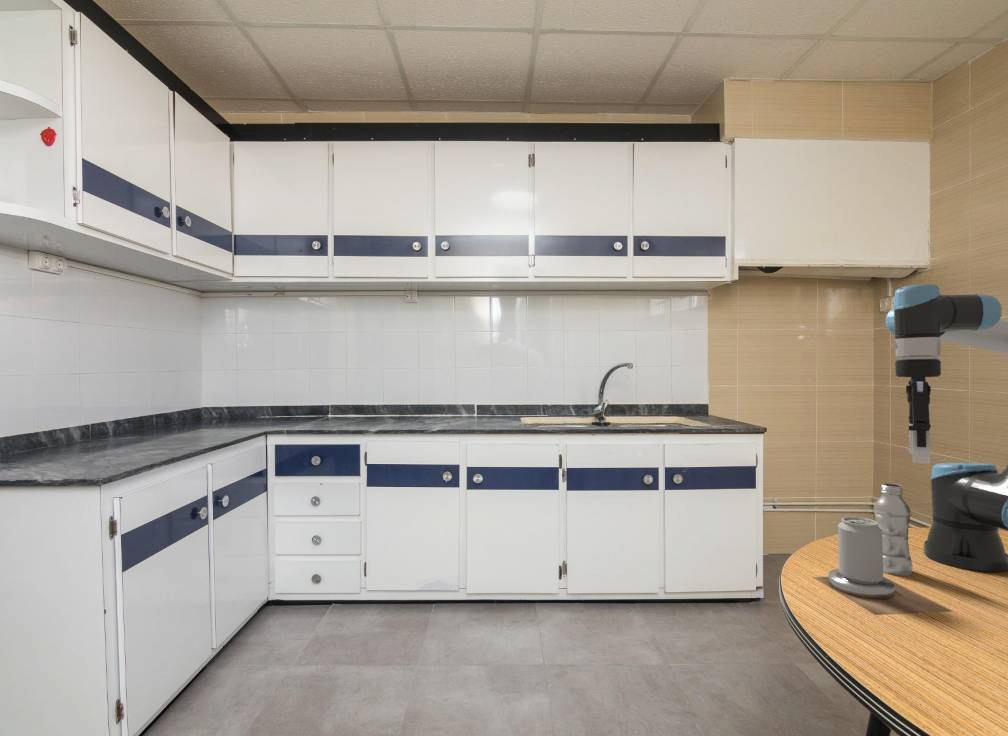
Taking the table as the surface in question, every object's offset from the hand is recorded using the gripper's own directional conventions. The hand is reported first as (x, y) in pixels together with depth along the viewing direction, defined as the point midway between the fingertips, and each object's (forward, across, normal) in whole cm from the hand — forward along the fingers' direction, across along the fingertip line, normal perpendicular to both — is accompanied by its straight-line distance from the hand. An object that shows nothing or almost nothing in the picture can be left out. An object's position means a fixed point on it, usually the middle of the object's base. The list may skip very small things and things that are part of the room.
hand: (919, 458), depth 109 cm
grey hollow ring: (+26, +13, -10) cm, 30 cm away
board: (+27, +14, -8) cm, 31 cm away
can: (+24, +12, -10) cm, 29 cm away
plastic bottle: (+27, -2, -5) cm, 27 cm away
